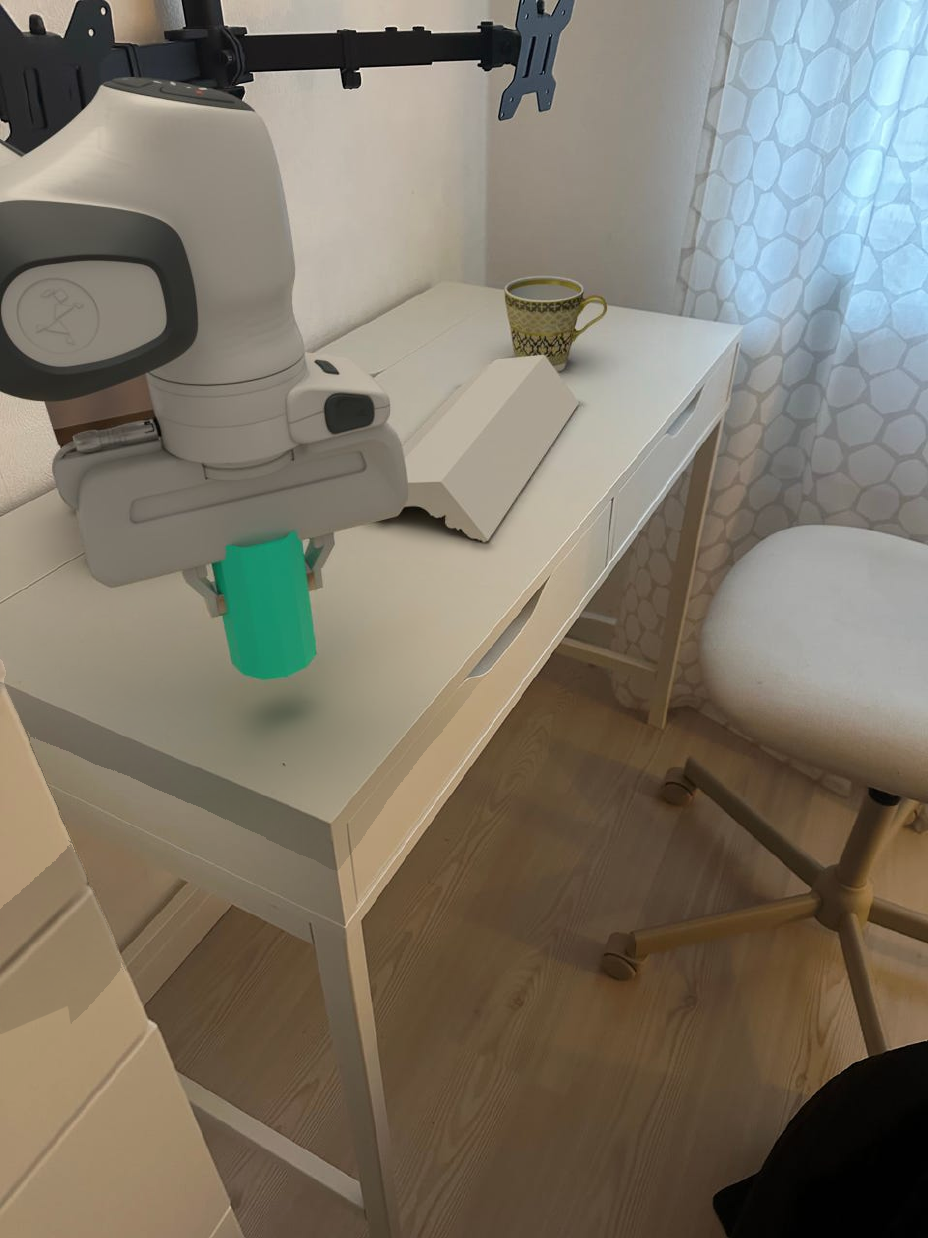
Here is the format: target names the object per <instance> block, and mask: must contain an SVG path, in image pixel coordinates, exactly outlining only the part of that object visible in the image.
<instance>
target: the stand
mask: <svg viewBox="0 0 928 1238" xmlns="http://www.w3.org/2000/svg"><path fill="white" fill-rule="evenodd" d="M44 405H45V408H46V412H47V415H48V418H49V422H50V424H51V427H52V430H53V434H54V436H55V440H56V443H57V446H59V449H61V448H62V447H63V446H64V445H66V444H68V443H70V442H73V441H74V440H73V436H74V435H76V434H79V433H82V432H85V431H91V430H97V431H101V430H107V429H112V428H114V427H117V426H121V425H124V424H128V423H133V422H138V421H143V420H147V419H152V418H154V417H155V413H154V410H153V405H152V401H151V397H150V392H149V388H148V383H147V379H146V375H145V374H143V375H141V376H138V377H136V378H133V379H131V380H128V381H125V382H123V383H120V384H117V385H115V386H112V387H109V388H106V389H103V390H100V391H98V392H95V393H92V394H89V395H85V396H82V397H79V398H75V399H70V400H64V401H53V402H44ZM158 438H159V436H158ZM73 452H77V450H76V449H73V450H71V451H70V452H68V453H73ZM68 453H67V454H68Z"/></svg>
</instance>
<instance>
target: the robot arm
mask: <svg viewBox="0 0 928 1238" xmlns="http://www.w3.org/2000/svg"><path fill="white" fill-rule="evenodd" d="M274 147H275V146H274V144H273V141H272V138H271V135H270V132H269V130H268V127H267V125H266V122H265V120H263V118H262V116H261V115H259V114H258V113H257V112H256V111H255V109H254V108H253V107H252V106H251V105H249V104H248V103H247V102H245V101H243V100H242V99H240V98H239V97H236V96H235V95H233V94H231V93H228V92H226V91H223V90H218V89H215V88H212V87H208V88H207V87H202V86H198V85H194V84H192V83H186V82H181V81H173V80H167V79H160V78H152V77H141V76H140V77H137V76H126V77H117V78H113V79H112V80H108V81H105V82H103V83H102V84H101V85H99V87H98V89H97V92H96V93H95V95H94V96H93V98H92V99H91V101H90V102H89V103H88V104H87V105H86V106H85V107H84V109H82V110H81V111H80V112H79V113H78V114H77V115H76V116H75V117H74V118H73V119H72V120H71V121H69V122H68V123H67V124H66V125H65V126H63V127H62V128H61V129H60V130H59V131H58V132H56V133H55V134H53V135H52V136H51V137H50V138H48V139H47V140H45V141H44V142H43V143H42V144H40V145H38V146H37V147H35V148H34V149H32V150H31V151H29V152H28V153H25V152H23V151H21V150H20V149H19V148H17V147H15V146H14V145H12V144H10V143H8V142H6V141H5V140H3V139H1V138H0V393H3V394H5V395H8V396H11V397H14V398H18V399H22V400H26V401H27V400H28V401H33V402H44V403H45V402H53V401H64V400H70V399H75V398H79V397H82V396H85V395H89V394H92V393H95V392H98V391H100V390H103V389H106V388H109V387H112V386H115V385H117V384H120V383H123V382H125V381H128V380H131V379H133V378H136V377H138V376H141V375H143V374H145V375H146V379H147V383H148V388H149V392H150V397H151V401H152V405H153V410H154V413H155V417H154V418H152V419H147V420H143V421H138V422H133V423H128V424H124V425H121V426H117V427H114V428H112V429H107V430H101V431H97V430H91V431H85V432H82V433H79V434H76V435H74V436H73V440H74V441H73V442H70V443H68V444H66V445H64V446H63V447H62V448H59V450H58V451H57V452H56V453H55V455H54V457H53V459H52V463H51V472H52V475H53V480H54V482H55V486H56V488H57V492H58V495H59V496H60V499H62V501H63V502H64V503H65V504H66V505H68V506H69V507H70V508H72V509H74V510H75V513H76V515H75V516H76V519H77V526H78V531H79V536H80V541H81V545H82V549H83V552H84V557H85V560H86V564H87V566H88V571H89V573H90V576H91V578H92V579H93V580H95V581H96V582H98V583H100V584H101V585H104V586H105V587H107V588H109V589H115V588H119V587H124V586H127V585H131V584H135V583H139V582H143V581H147V580H151V579H155V578H158V577H163V576H166V575H170V574H175V573H179V572H181V574H182V577H183V579H184V581H185V583H186V584H187V585H189V586H190V587H191V588H192V589H193V590H194V591H195V592H197V594H199V595H200V596H201V597H203V600H204V604H205V607H206V609H207V613H208V614H209V617H210V618H211V619H215V618H217V617H222V615H226V614H227V608H226V603H225V598H224V594H222V593H221V592H220V591H219V590H218V589H217V588H216V584H215V580H213V581H211V580H210V579H208V578H207V576H208V570H207V566H206V565H210V564H211V563H214V562H218V561H222V560H225V558H226V548H225V546H229V545H233V546H237V547H241V548H243V547H250V546H254V545H258V544H262V543H266V542H270V541H274V540H278V539H282V538H286V537H287V536H288V535H289V534H290V532H293V531H297V536H298V538H299V540H300V541H301V540H302V541H305V540H309V541H308V544H307V547H306V549H305V551H304V559H305V567H306V576H307V583H308V591H309V592H311V591H312V592H313V591H317V590H320V589H323V588H324V584H323V583H324V582H323V574H322V569H323V568H324V566H325V564H326V563H327V561H328V558H329V556H330V555H331V553H332V551H333V548H334V547H335V546H336V545H335V544H336V543H335V542H336V541H335V533H336V532H340V531H344V530H348V529H352V528H356V527H360V526H364V525H368V524H371V523H376V522H380V521H384V520H388V519H392V518H395V517H398V516H399V515H400V514H401V512H402V511H403V509H404V508H405V507H404V506H405V505H406V503H407V501H408V496H409V492H408V478H407V470H406V464H405V458H404V453H403V448H402V447H403V444H402V441H401V438H400V436H399V434H398V433H397V431H396V430H395V428H394V427H393V426H392V425H390V423H389V422H388V421H389V419H390V416H391V400H390V397H389V395H388V393H387V391H385V389H384V388H383V387H382V385H381V384H380V383H379V382H378V381H377V380H376V379H375V377H373V376H372V375H371V374H370V373H368V372H367V371H366V369H363V368H362V367H361V366H359V365H358V364H357V363H356V362H353V361H352V360H350V359H349V358H346V357H341V356H337V355H329V354H322V353H321V354H320V353H314V352H308V351H306V350H305V342H304V340H303V339H304V338H303V335H302V333H301V330H300V328H299V326H298V324H297V321H296V319H295V313H294V309H293V308H294V307H293V291H294V285H295V279H296V263H295V262H296V260H295V254H294V245H293V237H292V231H291V223H290V218H289V212H288V205H287V200H286V194H285V189H284V184H283V179H282V175H281V170H280V166H279V162H278V157H277V154H276V150H275V148H274ZM158 436H159V438H158ZM73 449H76V450H77V452H73V453H68V452H70V451H71V450H73ZM67 453H68V454H67Z"/></svg>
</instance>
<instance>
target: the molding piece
mask: <svg viewBox="0 0 928 1238" xmlns="http://www.w3.org/2000/svg"><path fill="white" fill-rule="evenodd" d="M579 404H580V402H579V400H578V399H577V397H576V396H575V395H574V393H573V392H572V390H571V389H570V388H569V386H568V385H567V384H566V382H565V381H564V380H563V378H562V377H561V375H560V374H559V372H557V371H556V370H555V369H554V367H553V366H552V364H551V363H550V362H549V360H548V359H547V358H546V356H545V355H537V356H526V357H516V358H515V357H507V358H506V357H505V358H498V359H496V358H495V359H494V360H493V361H491V362H490V363H489V364H488V365H486V366H485V367H483V368H482V369H481V370H480V371H478V372H477V373H475V374H474V375H473V376H471V377H470V378H469V379H468V380H466V381H465V382H463V383H462V384H461V385H459V387H457V389H456V390H455V391H454V392H453V393H452V394H451V395H450V396H449V397H448V398H447V399H446V400H445V401H444V403H443V404H442V405H441V406H439V407H438V409H437V410H436V411H435V412H434V413H433V414H432V415H431V416H430V417H429V418H428V420H426V421H425V422H424V424H423V425H422V426H421V427H420V428H419V429H418V430H417V431H416V432H415V433H414V434H413V435H412V436H411V438H409V439H408V440H407V442H406V443H405V444H404V445H402V448H403V453H404V458H405V464H406V470H407V478H408V492H409V496H408V501H407V503H406V505H405V506H404V508H406V507H407V508H408V507H419V508H420V509H423V510H425V511H426V512H427V513H429V515H430V516H431V517H434V518H436V519H438V518H440V519H441V518H442V517H444V520H445V521H444V524H445V525H446V527H447V528H449V529H456V530H457V531H460V530H461V531H462V532H463V533H464V534H465V535H466V536H467V537H468V538H470V539H473V540H474V539H476V540H478V541H482V543H486V542H488V541H489V540H490V539H491V537H492V536H493V534H494V532H495V531H496V529H497V528H498V526H499V525H500V524H501V522H502V520H503V519H504V517H505V516H506V514H507V513H508V511H509V510H510V508H511V507H512V505H513V504H514V502H515V501H516V499H517V498H518V496H519V494H520V493H521V492H522V490H523V488H524V487H525V486H526V484H527V483H528V481H529V479H530V478H531V476H532V475H533V473H534V472H535V470H536V469H537V468H538V466H539V464H540V463H541V461H542V460H543V458H544V457H545V455H546V454H547V452H548V451H549V449H550V448H551V446H552V444H553V443H554V442H555V440H556V439H557V437H558V436H559V435H560V432H561V431H562V430H563V428H564V427H565V425H566V424H567V422H568V421H569V419H570V418H571V416H572V414H573V413H574V412H575V410H576V408H577V407H578V405H579Z"/></svg>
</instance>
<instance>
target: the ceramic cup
mask: <svg viewBox="0 0 928 1238" xmlns="http://www.w3.org/2000/svg"><path fill="white" fill-rule="evenodd" d="M503 289H504V302H505V308H506V314H507V319H508V323H509V329H510V336H511V341H512V342H511V343H512V349H513V355H514V357H513V358H516V357H526V356H537V355H545V356H546V358H547V359H548V360H549V362H550V363H551V364H552V366H553V367H554V369H555V370H556V371H557V373H559V372H562V371H565V368H566V366H567V364H568V360H569V355H570V351H571V347H572V345H573V343H574V342H575V341H576V340H577V338H578V337H579V336H580V335H582V334H583V333H584V332H586V330H587V329H588V328H590V327H591V326H592V325H594V324H595V323H597V322H598V321H600V320H602V319H603V317H604V316H605V315H606V314H607V311H608V305H607V302H606V300H605V299H604V297H602V296H600V295H597V294H595V295H589V296H587V297H586V298H584V293H585V286H584V285H583V284H581V282H578V281H577V280H574V279H571V278H568V277H562V276H555V275H535V276H526V277H521V278H517V279H514V280H512V281H509V282H508V283H507V284H506V285H505V287H504V288H503ZM593 302H599V303H601V304H602V306H603V311H602V313H601V314H599V316H597V317H596V318H593V319H592V320H590V321H589V322H587V324H586V325H585V326H584V327H582V329H579V330H577V328H576V325H577V321H578V318H579V316H580V314H581V313H582V312H583V311H584V309H585V307H586V306H588V305H589V304H590V303H593Z"/></svg>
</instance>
